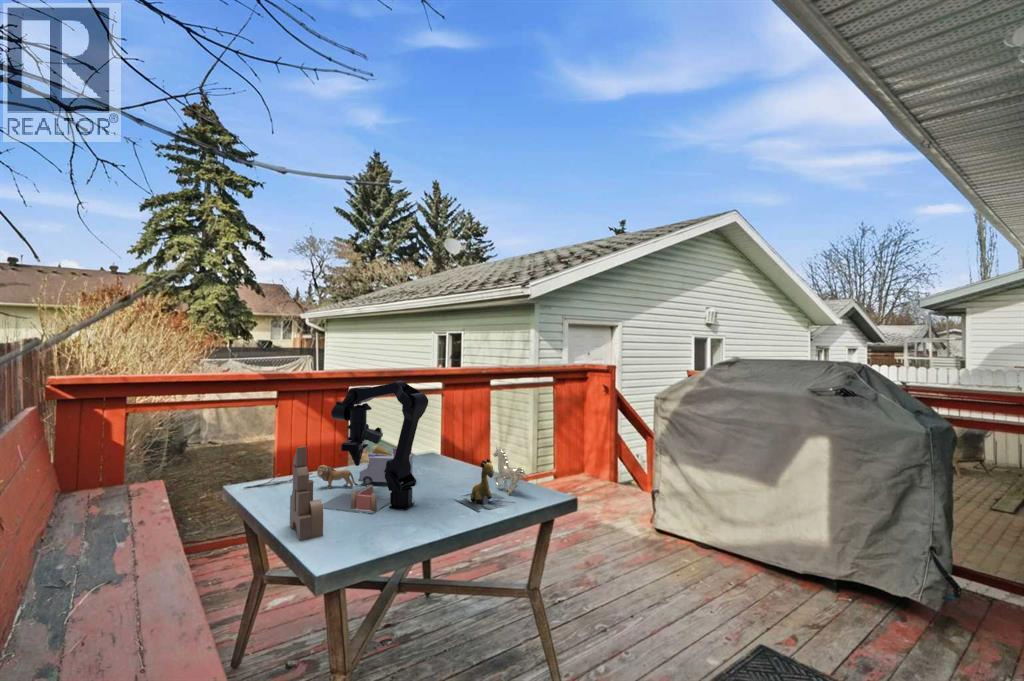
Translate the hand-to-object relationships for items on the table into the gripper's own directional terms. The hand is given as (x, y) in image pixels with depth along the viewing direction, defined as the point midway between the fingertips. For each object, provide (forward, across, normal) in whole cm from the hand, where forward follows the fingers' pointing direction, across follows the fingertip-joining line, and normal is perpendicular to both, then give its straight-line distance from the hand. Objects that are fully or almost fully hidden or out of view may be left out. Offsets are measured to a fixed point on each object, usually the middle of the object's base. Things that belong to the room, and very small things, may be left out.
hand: (357, 465), depth 176 cm
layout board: (+11, -7, -2) cm, 13 cm away
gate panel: (+11, -6, -4) cm, 13 cm away
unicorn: (+11, +7, -54) cm, 56 cm away
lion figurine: (+12, +11, +11) cm, 20 cm away
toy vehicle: (+12, +17, -6) cm, 21 cm away
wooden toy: (+12, -30, +6) cm, 33 cm away
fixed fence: (+11, -13, -6) cm, 18 cm away
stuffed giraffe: (+12, -2, -45) cm, 47 cm away
